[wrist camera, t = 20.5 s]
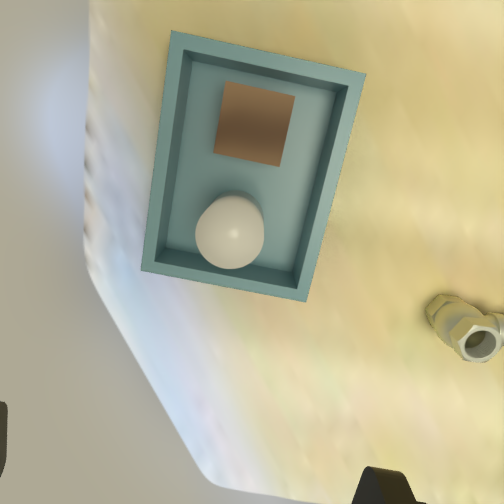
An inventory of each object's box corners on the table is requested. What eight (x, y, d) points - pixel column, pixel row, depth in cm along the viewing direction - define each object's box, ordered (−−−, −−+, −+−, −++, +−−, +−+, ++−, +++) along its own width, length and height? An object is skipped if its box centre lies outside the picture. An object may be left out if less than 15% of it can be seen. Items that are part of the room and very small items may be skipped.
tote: (184, 46, 32) (171, 30, 27) (349, 83, 32) (366, 73, 27) (155, 253, 37) (140, 270, 32) (299, 281, 37) (305, 302, 32)
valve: (415, 338, 39) (531, 349, 39) (446, 376, 33) (584, 390, 33) (430, 277, 37) (552, 289, 37) (466, 305, 31) (612, 320, 31)
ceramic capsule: (212, 185, 34) (200, 196, 27) (268, 195, 34) (270, 208, 27) (204, 239, 35) (190, 262, 29) (257, 249, 35) (257, 274, 29)
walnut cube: (230, 89, 32) (225, 80, 27) (289, 102, 32) (295, 96, 27) (219, 150, 33) (213, 152, 28) (276, 163, 33) (279, 167, 29)
